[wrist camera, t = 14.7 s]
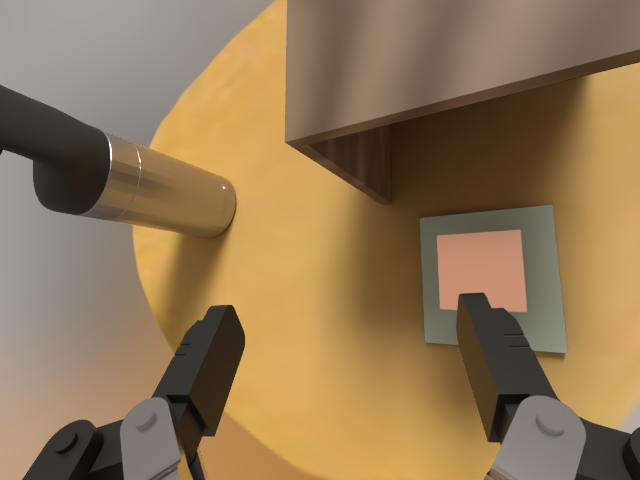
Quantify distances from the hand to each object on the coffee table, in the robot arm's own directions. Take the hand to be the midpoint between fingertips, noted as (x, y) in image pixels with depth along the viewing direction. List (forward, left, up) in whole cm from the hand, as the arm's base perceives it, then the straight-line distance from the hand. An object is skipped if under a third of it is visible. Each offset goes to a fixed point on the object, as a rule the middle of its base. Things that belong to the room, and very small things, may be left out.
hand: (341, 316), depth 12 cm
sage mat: (+3, +2, -23) cm, 23 cm away
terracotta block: (+4, +2, -23) cm, 23 cm away
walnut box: (+3, +16, -23) cm, 28 cm away
